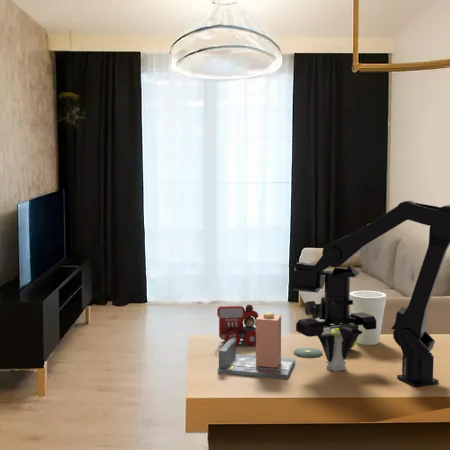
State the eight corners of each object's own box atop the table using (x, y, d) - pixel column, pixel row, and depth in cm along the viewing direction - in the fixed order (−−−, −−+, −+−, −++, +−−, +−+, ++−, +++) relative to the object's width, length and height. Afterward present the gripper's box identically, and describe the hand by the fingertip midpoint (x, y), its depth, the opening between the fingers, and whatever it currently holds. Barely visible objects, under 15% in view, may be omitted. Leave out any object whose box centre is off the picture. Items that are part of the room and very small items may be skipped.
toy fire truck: (266, 346, 163) (266, 307, 162) (219, 348, 161) (219, 309, 160) (260, 338, 170) (260, 301, 169) (215, 341, 168) (215, 303, 167)
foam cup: (346, 336, 171) (347, 290, 170) (380, 336, 171) (381, 290, 170) (352, 346, 162) (353, 297, 161) (388, 346, 161) (389, 297, 160)
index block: (280, 360, 146) (281, 311, 145) (277, 367, 141) (277, 317, 140) (260, 359, 147) (260, 310, 146) (255, 365, 142) (255, 315, 141)
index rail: (294, 362, 148) (294, 342, 148) (287, 379, 137) (287, 357, 136) (230, 357, 152) (230, 338, 152) (217, 373, 141) (217, 352, 140)
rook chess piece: (323, 369, 143) (324, 336, 142) (329, 364, 147) (330, 331, 146) (342, 372, 141) (343, 338, 140) (348, 367, 145) (348, 334, 144)
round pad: (327, 355, 154) (327, 353, 154) (302, 358, 151) (302, 356, 151) (312, 348, 160) (312, 346, 160) (289, 351, 158) (289, 349, 158)
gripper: (351, 285, 153) (350, 346, 155) (284, 291, 146) (284, 355, 148) (378, 293, 143) (377, 359, 144) (308, 300, 136) (308, 369, 137)
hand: (336, 360), depth 144 cm, fingers closed on rook chess piece, 3 cm apart
